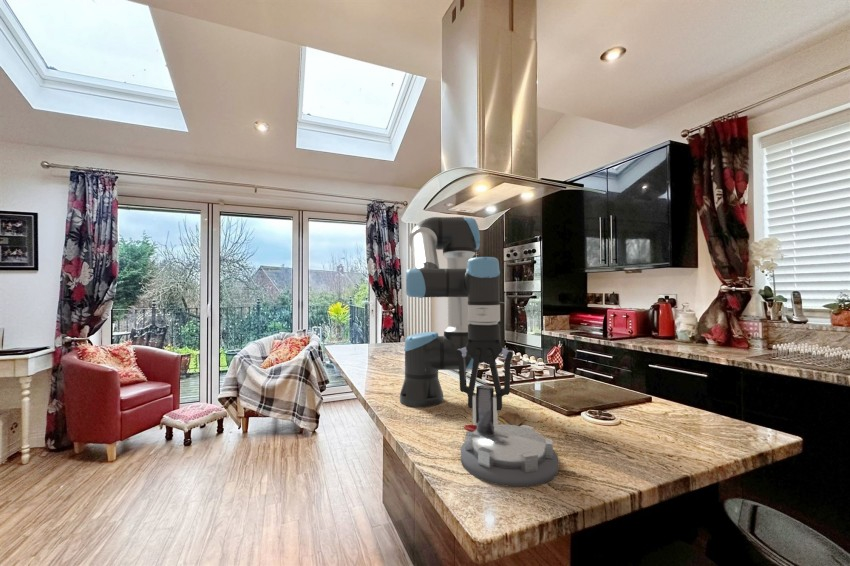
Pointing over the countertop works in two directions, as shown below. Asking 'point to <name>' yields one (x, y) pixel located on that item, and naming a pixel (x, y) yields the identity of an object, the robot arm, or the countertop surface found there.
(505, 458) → the tabbed dome lid
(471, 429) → the cayenne pepper
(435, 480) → the countertop surface
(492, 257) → the robot arm
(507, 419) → the shard
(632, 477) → the countertop surface
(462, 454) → the base plate
